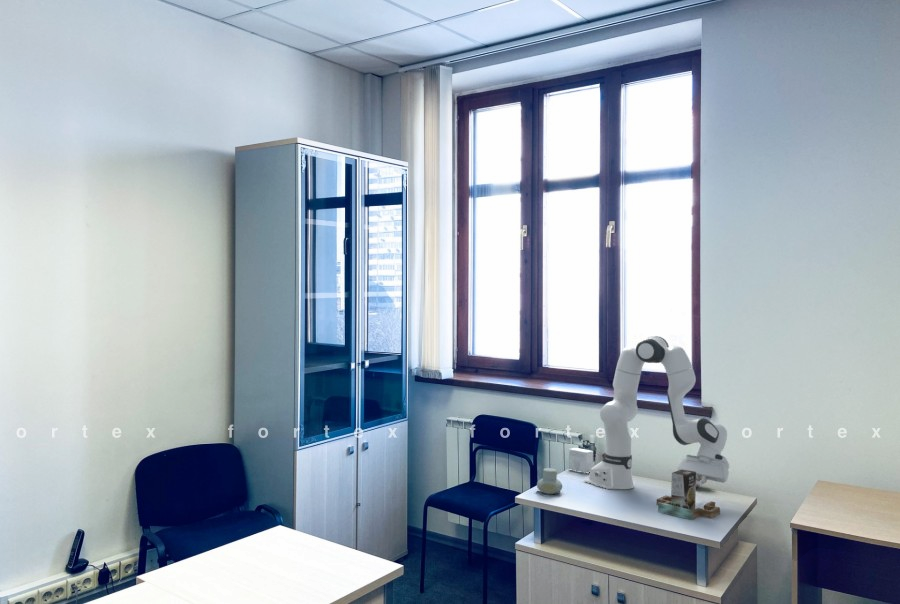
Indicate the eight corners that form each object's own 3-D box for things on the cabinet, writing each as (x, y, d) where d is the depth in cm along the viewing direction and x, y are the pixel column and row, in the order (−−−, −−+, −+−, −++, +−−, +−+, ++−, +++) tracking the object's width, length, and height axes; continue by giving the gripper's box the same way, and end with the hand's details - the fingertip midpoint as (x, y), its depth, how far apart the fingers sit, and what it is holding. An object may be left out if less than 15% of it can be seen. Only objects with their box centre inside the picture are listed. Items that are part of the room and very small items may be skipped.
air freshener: (562, 491, 299) (563, 468, 299) (561, 496, 291) (561, 472, 291) (538, 488, 301) (538, 466, 301) (535, 494, 293) (536, 470, 293)
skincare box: (593, 471, 333) (593, 450, 333) (585, 474, 329) (586, 452, 329) (575, 467, 341) (576, 446, 341) (568, 469, 336) (568, 448, 336)
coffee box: (685, 516, 266) (686, 475, 266) (670, 512, 270) (670, 472, 270) (696, 511, 272) (696, 471, 272) (680, 508, 277) (681, 468, 277)
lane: (647, 509, 275) (647, 500, 275) (672, 498, 290) (672, 490, 290) (703, 522, 259) (703, 513, 259) (726, 510, 274) (726, 502, 274)
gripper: (681, 449, 293) (670, 476, 287) (729, 458, 279) (718, 486, 272) (686, 458, 297) (675, 484, 290) (733, 467, 282) (723, 495, 275)
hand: (696, 485), depth 281 cm, fingers closed
